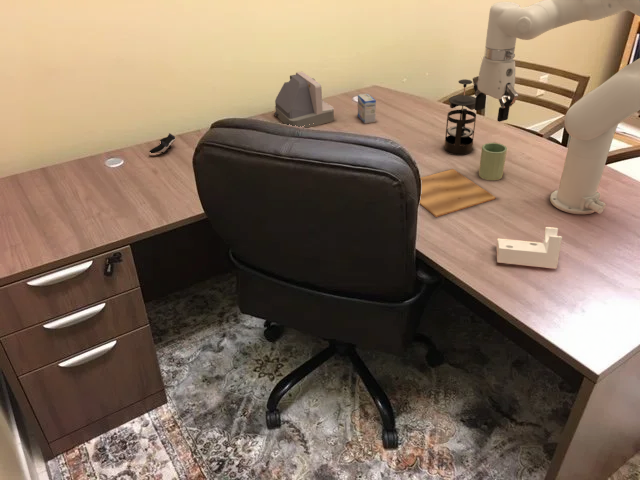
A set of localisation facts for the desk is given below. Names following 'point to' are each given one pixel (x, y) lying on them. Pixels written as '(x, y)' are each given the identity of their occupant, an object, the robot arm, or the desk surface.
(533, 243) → the bracket
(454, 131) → the french press
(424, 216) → the desk surface
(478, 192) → the mat
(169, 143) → the black shoe
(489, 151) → the pot
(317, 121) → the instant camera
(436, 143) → the desk surface
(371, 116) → the medicine box
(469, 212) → the desk surface
